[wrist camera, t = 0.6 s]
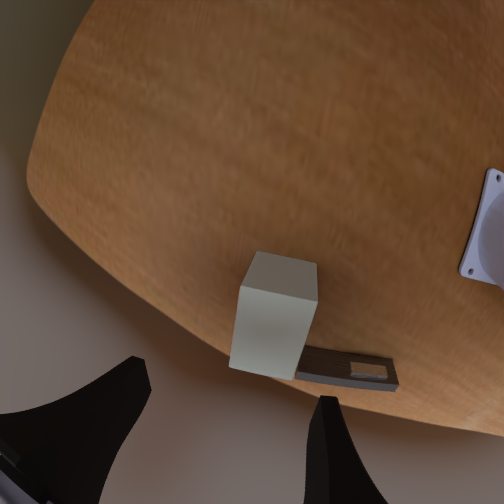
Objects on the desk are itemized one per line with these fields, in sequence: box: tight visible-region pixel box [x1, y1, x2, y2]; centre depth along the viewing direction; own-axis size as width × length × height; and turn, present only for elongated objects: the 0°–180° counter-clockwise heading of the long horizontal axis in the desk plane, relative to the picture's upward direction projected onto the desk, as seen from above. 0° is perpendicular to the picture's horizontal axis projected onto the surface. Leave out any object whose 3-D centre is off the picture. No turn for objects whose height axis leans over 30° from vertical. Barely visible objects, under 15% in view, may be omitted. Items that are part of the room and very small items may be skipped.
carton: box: [229, 251, 318, 381], centre depth 18 cm, size 4×6×5 cm
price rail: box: [295, 346, 399, 392], centre depth 20 cm, size 8×1×3 cm, turn 81°
